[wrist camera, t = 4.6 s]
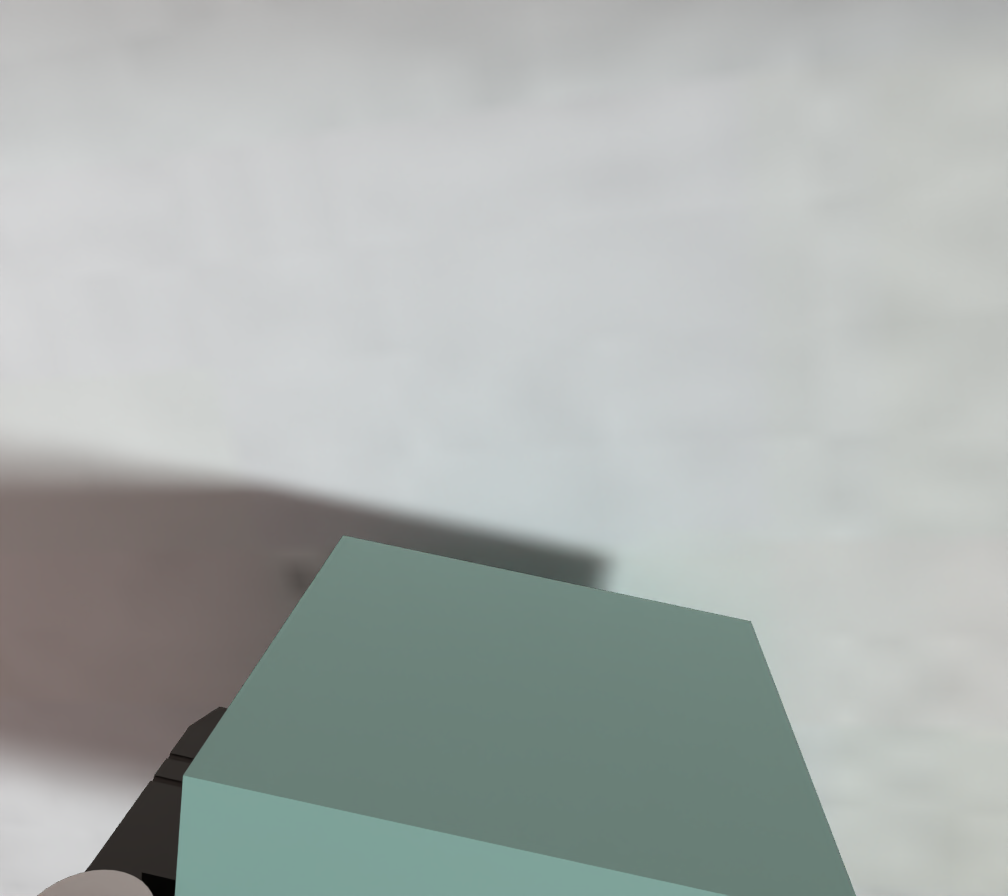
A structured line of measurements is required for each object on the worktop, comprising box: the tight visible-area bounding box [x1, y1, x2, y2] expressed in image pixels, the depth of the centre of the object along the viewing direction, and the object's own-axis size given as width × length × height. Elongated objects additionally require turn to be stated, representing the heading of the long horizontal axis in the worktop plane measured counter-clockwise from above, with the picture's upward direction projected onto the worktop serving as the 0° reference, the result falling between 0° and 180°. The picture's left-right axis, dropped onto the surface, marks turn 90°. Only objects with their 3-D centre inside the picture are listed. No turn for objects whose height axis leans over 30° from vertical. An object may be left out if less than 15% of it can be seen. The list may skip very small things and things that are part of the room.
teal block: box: [175, 535, 856, 896], centre depth 10 cm, size 6×6×5 cm
